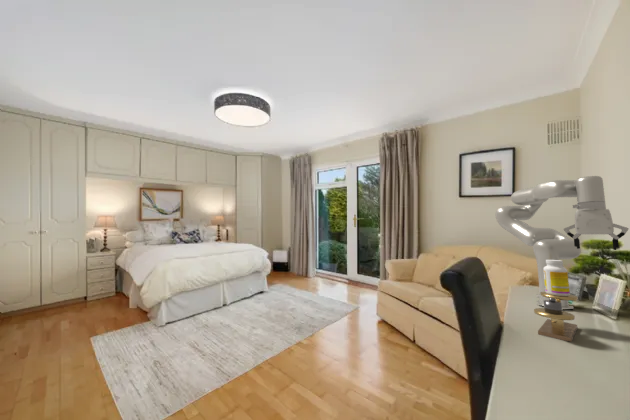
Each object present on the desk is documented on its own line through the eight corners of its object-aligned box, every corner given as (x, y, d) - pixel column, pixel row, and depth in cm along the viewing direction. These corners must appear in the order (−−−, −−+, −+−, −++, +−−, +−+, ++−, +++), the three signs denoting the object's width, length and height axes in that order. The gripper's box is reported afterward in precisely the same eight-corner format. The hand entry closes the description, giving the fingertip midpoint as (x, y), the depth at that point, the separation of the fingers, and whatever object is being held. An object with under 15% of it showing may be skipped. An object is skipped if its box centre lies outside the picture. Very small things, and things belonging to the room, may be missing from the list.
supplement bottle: (575, 296, 90) (571, 261, 91) (557, 297, 90) (554, 261, 91) (557, 292, 96) (554, 259, 97) (540, 292, 96) (537, 259, 97)
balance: (575, 345, 76) (571, 304, 78) (532, 335, 84) (529, 297, 85) (582, 327, 91) (578, 292, 92) (545, 319, 99) (542, 288, 100)
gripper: (560, 207, 104) (564, 248, 103) (625, 204, 91) (631, 250, 89) (562, 208, 109) (566, 247, 107) (625, 205, 95) (630, 249, 94)
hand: (596, 249), depth 98 cm, fingers open, 9 cm apart
